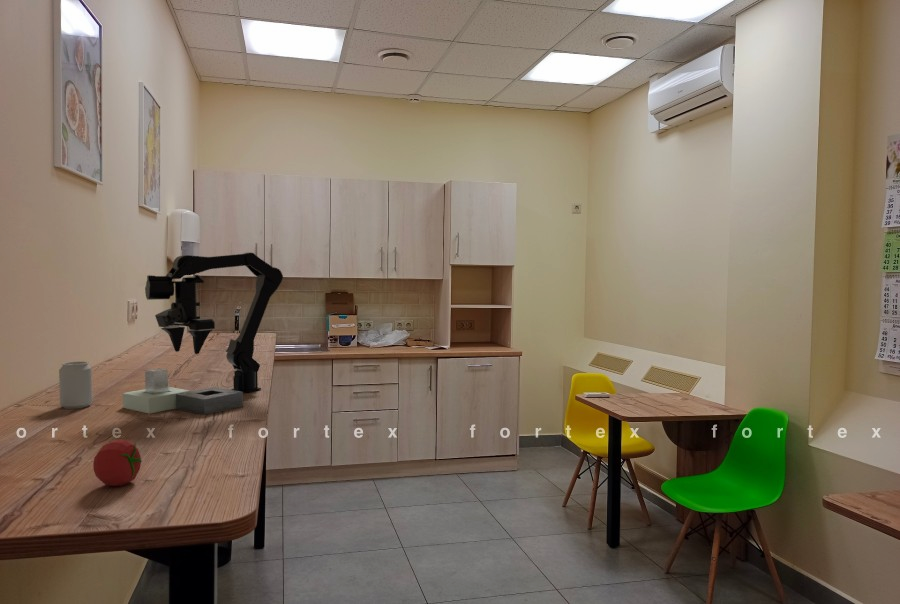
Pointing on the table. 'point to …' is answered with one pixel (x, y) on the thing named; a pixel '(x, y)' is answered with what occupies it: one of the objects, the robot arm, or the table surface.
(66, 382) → the can
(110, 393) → the table surface
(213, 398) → the mount
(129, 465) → the tomato
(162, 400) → the dock
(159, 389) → the pin
